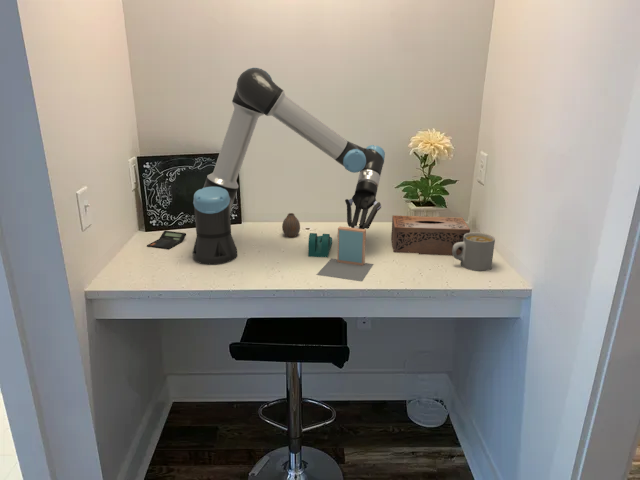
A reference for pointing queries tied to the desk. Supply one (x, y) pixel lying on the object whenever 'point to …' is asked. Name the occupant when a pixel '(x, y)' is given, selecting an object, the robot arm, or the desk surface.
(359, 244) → the tile
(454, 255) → the coffee mug
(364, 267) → the mat
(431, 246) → the tissue box cover
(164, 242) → the calculator
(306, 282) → the desk surface
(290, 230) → the vase
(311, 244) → the bracket
